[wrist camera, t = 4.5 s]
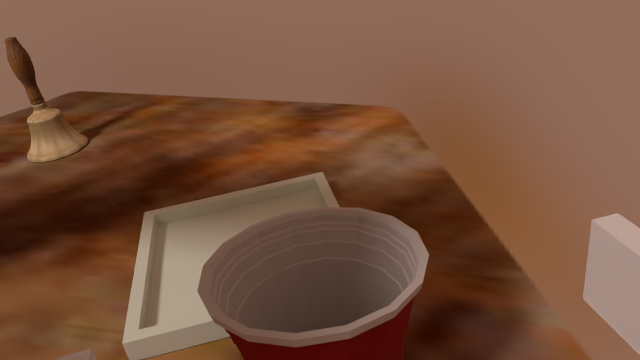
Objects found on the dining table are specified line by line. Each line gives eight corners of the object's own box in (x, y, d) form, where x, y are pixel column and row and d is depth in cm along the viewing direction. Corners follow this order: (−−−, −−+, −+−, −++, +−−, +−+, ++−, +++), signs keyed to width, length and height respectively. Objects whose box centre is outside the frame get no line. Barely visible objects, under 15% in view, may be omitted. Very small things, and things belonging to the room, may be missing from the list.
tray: (130, 362, 37) (122, 343, 36) (149, 227, 52) (144, 212, 51) (377, 298, 39) (375, 279, 38) (324, 186, 54) (322, 171, 54)
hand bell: (19, 167, 71) (-36, 51, 63) (37, 144, 78) (-10, 36, 71) (82, 155, 72) (35, 38, 64) (93, 132, 79) (53, 25, 71)
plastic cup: (429, 346, 34) (420, 186, 28) (448, 521, 25) (440, 336, 19) (268, 350, 36) (228, 200, 30) (227, 515, 27) (159, 343, 21)
